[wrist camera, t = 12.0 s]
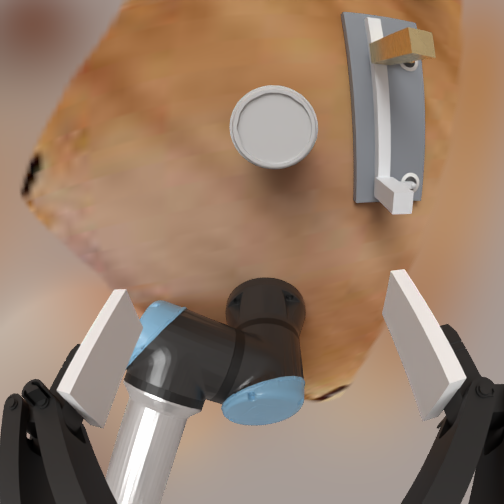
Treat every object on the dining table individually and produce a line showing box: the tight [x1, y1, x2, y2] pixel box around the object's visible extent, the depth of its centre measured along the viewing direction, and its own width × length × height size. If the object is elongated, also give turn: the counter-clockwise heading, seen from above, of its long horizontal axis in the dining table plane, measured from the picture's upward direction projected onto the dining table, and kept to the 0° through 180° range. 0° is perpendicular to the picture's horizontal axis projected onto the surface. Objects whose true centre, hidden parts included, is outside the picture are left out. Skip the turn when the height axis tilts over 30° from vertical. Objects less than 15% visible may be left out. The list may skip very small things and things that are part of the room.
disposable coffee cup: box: [230, 85, 318, 169], centre depth 33 cm, size 10×10×12 cm
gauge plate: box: [341, 12, 425, 214], centre depth 31 cm, size 30×12×10 cm, turn 6°
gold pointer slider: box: [369, 27, 435, 65], centre depth 24 cm, size 3×8×13 cm, turn 96°
